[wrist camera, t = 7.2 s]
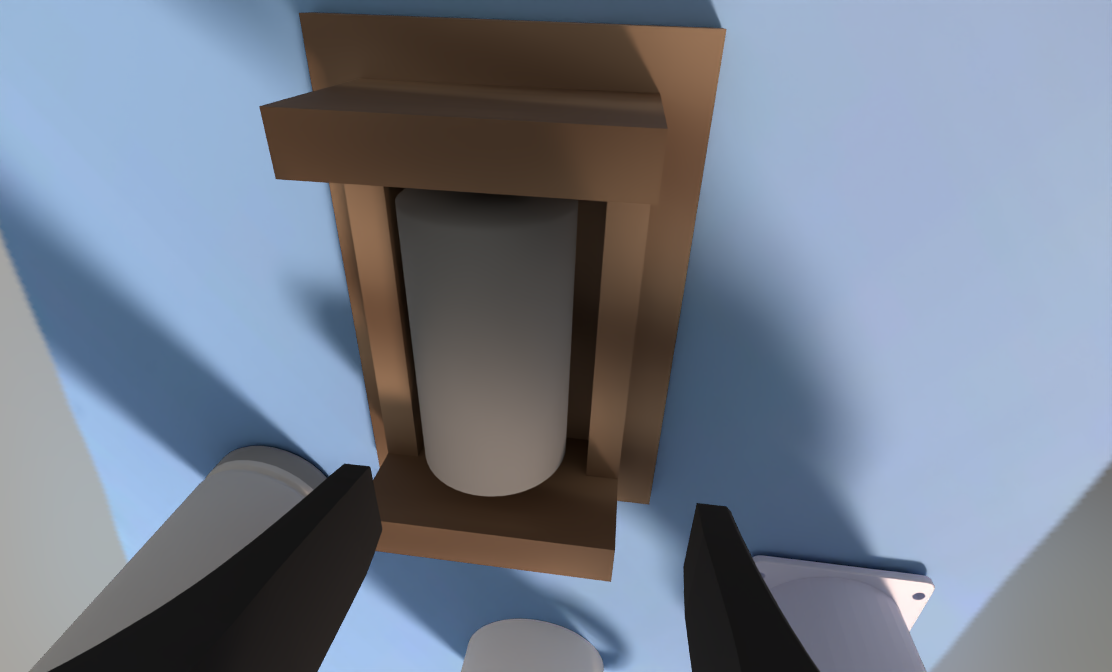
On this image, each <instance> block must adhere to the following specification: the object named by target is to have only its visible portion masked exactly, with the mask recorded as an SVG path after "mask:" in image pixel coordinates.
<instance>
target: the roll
mask: <svg viewBox="0 0 1112 672" xmlns="http://www.w3.org/2000/svg"><path fill="white" fill-rule="evenodd" d="M395 205H396V213H397V222H398V230H399V238H400V247H401V255H402V263H403V272H404V280H405V288H406V297H407V305H408V313H409V322H410V330H411V338H412V347H413V355H414V363H415V372H416V380H417V388H418V397H419V405H420V413H421V422H422V430H423V438H424V447H425V455H426V460H427V463H428V465H429V467H430V469H431V471H432V472H433V473H434V475H435V476H436V477H437V478H438V479H439V480H440V481H442V482H443V483H445V484H446V485H448V486H450V487H452V488H453V489H456V490H458V491H461V492H464V493H468V494H472V495H478V496H505V495H511V494H516V493H519V492H523V491H526V490H528V489H531V488H533V487H535V486H537V485H539V484H541V483H542V482H544V481H545V480H547V479H548V478H549V477H550V476H551V475H552V474H553V473H554V472H555V471H556V470H557V469H558V468H559V466H560V464H561V463H562V461H563V458H564V455H565V450H566V434H567V415H568V395H569V375H570V356H571V336H572V316H573V296H574V277H575V257H576V237H577V217H578V200H577V199H562V198H548V197H533V196H518V195H503V194H489V193H474V192H459V191H444V190H430V189H415V188H406V189H404V190H403V191H401V192H400V193H399V194H398V195H397V197H396V199H395Z"/></svg>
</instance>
